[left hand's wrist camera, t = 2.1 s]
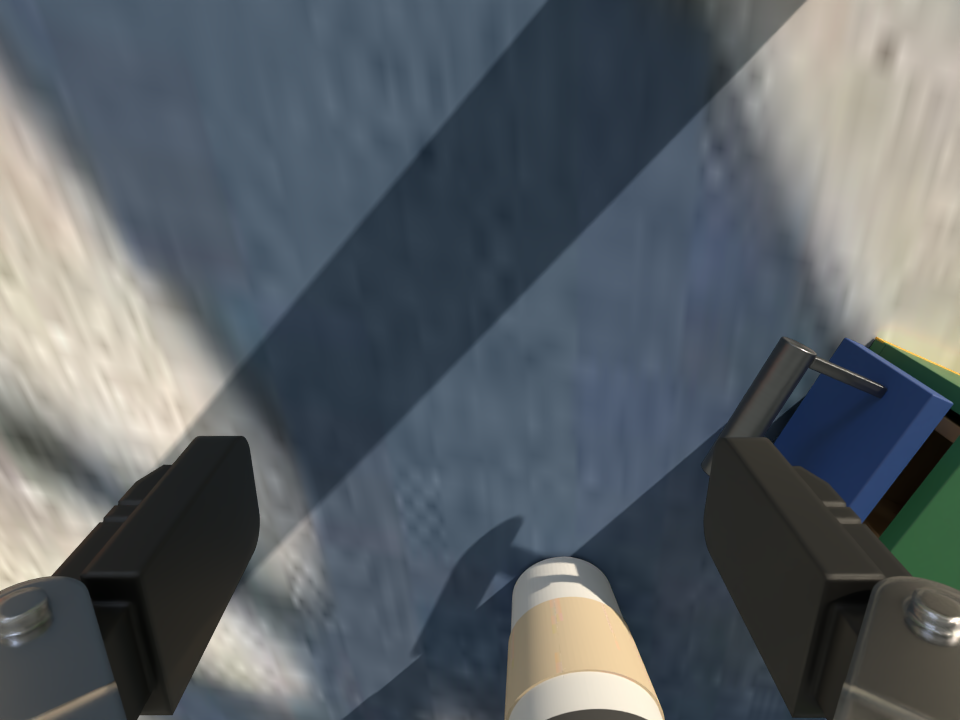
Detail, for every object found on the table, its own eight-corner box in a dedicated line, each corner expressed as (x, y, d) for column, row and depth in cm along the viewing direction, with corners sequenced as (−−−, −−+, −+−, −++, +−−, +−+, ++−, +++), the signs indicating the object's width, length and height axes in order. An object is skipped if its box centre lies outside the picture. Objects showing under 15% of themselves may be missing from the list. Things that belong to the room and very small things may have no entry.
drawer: (668, 434, 39) (711, 510, 32) (752, 296, 36) (820, 345, 28) (1007, 569, 42) (1114, 663, 35) (1109, 453, 39) (1250, 532, 32)
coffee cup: (530, 666, 47) (552, 908, 33) (471, 574, 44) (468, 798, 30) (649, 620, 45) (725, 854, 31) (597, 522, 42) (656, 732, 28)
